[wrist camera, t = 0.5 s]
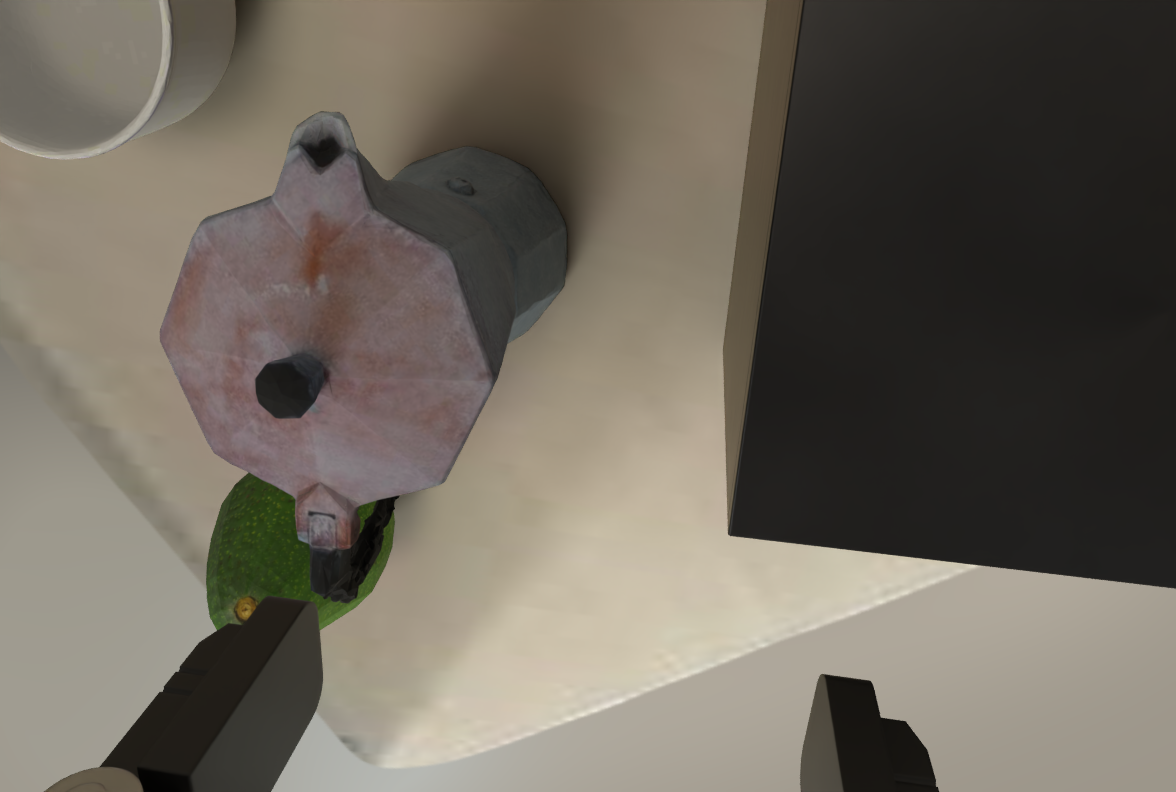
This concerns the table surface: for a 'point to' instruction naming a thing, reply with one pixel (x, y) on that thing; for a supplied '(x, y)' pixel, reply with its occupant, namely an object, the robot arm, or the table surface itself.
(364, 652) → the table surface
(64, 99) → the teacup
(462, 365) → the moka pot
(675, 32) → the table surface
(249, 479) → the avocado
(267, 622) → the robot arm
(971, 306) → the oven
